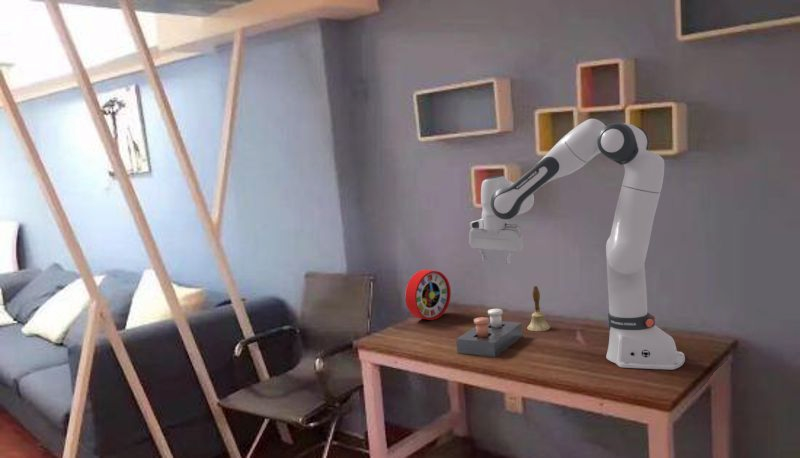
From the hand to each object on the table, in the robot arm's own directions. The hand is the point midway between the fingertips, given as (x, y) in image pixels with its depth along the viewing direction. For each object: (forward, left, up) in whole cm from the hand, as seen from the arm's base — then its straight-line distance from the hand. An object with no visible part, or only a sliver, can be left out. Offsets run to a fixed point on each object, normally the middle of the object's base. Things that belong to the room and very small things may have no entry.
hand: (496, 262), depth 223 cm
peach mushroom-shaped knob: (+2, +11, -23) cm, 26 cm away
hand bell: (-7, -17, -28) cm, 34 cm away
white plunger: (+2, 0, -23) cm, 23 cm away
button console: (+2, +5, -28) cm, 29 cm away
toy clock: (+40, -18, -28) cm, 52 cm away
